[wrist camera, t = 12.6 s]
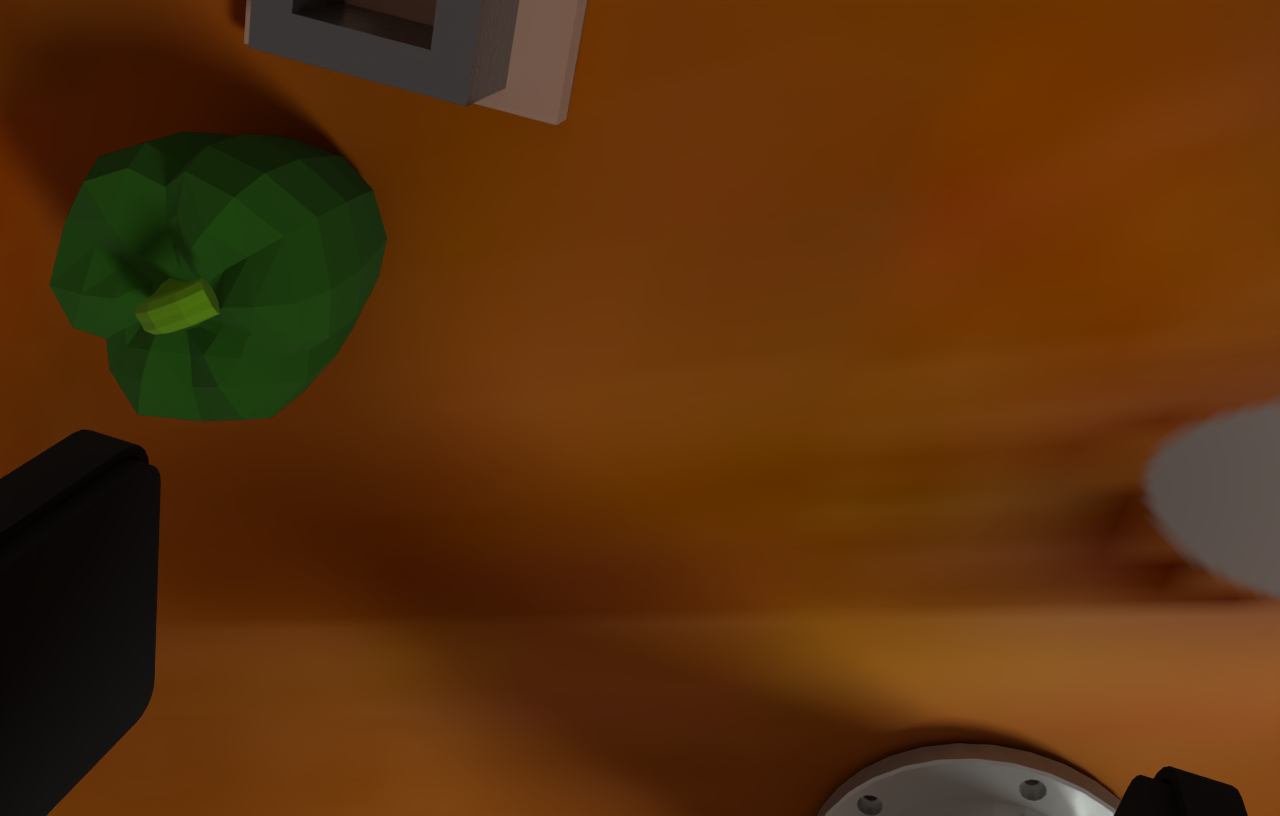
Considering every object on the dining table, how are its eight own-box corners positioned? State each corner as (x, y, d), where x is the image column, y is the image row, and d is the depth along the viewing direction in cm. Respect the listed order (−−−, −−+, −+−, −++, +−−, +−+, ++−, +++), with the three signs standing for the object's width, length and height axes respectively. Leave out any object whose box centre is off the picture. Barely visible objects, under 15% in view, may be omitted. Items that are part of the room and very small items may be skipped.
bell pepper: (211, 340, 42) (13, 463, 33) (174, 100, 39) (-57, 165, 30) (436, 359, 40) (291, 494, 31) (417, 110, 37) (249, 181, 28)
